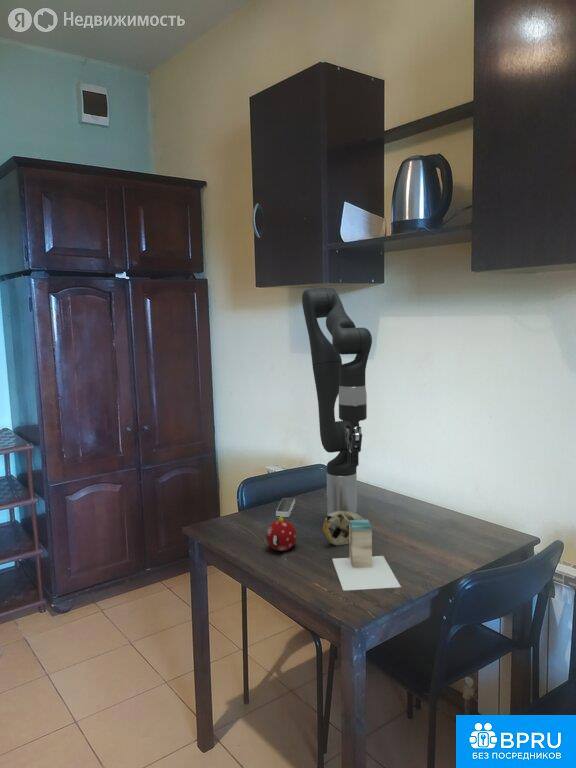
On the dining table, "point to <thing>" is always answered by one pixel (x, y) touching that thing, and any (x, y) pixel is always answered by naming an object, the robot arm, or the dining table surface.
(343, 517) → the skull
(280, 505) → the multiport hub
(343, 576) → the mat
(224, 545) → the dining table surface
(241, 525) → the dining table surface
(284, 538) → the christmas ornament
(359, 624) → the dining table surface
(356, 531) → the tall block
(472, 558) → the dining table surface
